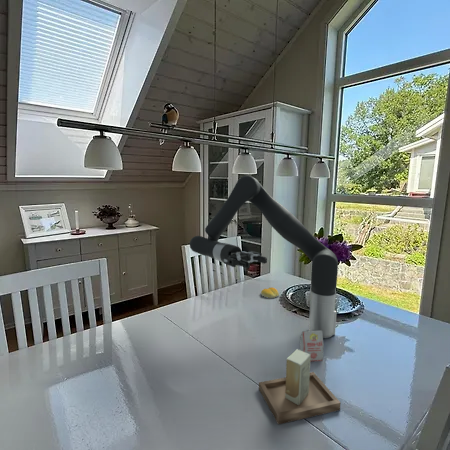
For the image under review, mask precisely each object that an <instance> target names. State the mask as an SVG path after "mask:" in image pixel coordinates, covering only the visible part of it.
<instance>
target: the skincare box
mask: <svg viewBox="0 0 450 450" xmlns="http://www.w3.org/2000/svg"><path fill="white" fill-rule="evenodd" d="M310 359H311V355H310V354H308V353H306V352H303V351H301V350H300V349H299V348H296V349H295V350H294V351H293V352H292V353H291V354H290V355H289V356H288V357H287V358H286V365H285V366H286V368H285V369H286V370H285V377H286V390H285V398H287V399H288V400H290V401H292V402H293V403H295V404H297V405H300V403H301V402H302V401H303V400H304V399H305V397H306V396H307V395H308V393H309V378H310V373H311V362H310Z"/></svg>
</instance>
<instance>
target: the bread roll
mask: <svg viewBox="0 0 450 450" xmlns="http://www.w3.org/2000/svg"><path fill="white" fill-rule="evenodd" d="M260 293H261V294H260V295H261V296H262V297H263V296H264V297H263V298H265V297H268V298H267V299H274V298H275V297H276V298H278V297H279V296H280V293H279V291H278V290H277V288H275V287H269V288H263V289H262V290H261V292H260ZM277 296H278V297H277Z"/></svg>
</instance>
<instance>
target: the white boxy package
mask: <svg viewBox="0 0 450 450" xmlns="http://www.w3.org/2000/svg"><path fill="white" fill-rule="evenodd" d="M299 350H301V351H303V352H306V353H308V354H310V355H311V359H310V363H311V362H323V361H324V360H323V359H324V358H323V357H324V338H323V334H322V331H309V330H303V331H302V332H301V336H300V340H299Z"/></svg>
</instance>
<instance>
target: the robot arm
mask: <svg viewBox="0 0 450 450" xmlns="http://www.w3.org/2000/svg"><path fill="white" fill-rule="evenodd" d="M246 202H249V203H251V204H252V205H253V206H254V207H256V209H258V210H259V211H260V213H261V214H262V215H263V217H264V218H265V220H266V221H267V222H268V223H269V225H270V226H271V227H272V228H273V229H274V230H275V232H277V233H278V234H279V235H280V237H282V238H283V239H284V240H286V241H287V242H288V243H290V244H292V245H294V246H295V247H297V248H298V249H299V250H301V251H302V253H304V254H305V255H306V256H307V257H308V258H309V260H310V261H311V276H310V300H309V301H310V302H309V317H308V331H322V334H323V339H329V338H331V337H332V336H334V335H336V325H337V311H336V310H335V308H336V295H337V284H338V283H337V281H338V271H339V267H338V266H339V263H338V262H339V261H338V258H337V255H336V254H335V253H334V252H333V251H332V250H331V249H329V248H328V247H327V246H325V245H324V244H323V243H322V242H321V241H319V240H318V239H317V238H316V237H315V236H314V235H313V234H312V233H311V231H310V230H309V229H308V228H306V226H305V225H304V224H303V223H302V222H301V221H300V220H299V219H298V218H297V217H296V216H295V215H294V214H293V213H292V212H291V211H290V210H288V209H287V208H286V207H285V206H284V205H282V204H281V203H280V202H278V201H277V200H276V199H274V198H273V197H272V196H271V195H270V193H268V192H267V190H266V189H265V188H264V187H263V185H262V184H261V183H260V182H259V180H258V179H257V178H255V177H253V176H251V175H243V176H241V177H240V178H239V179H238V180H237V182H236V183H235V185H234V187H233V188H232V190H231V193H230V194H229V195H228V197H227V199H226V201H225V202H224V203H223V205H222V206H221V208H220V209H219V210H218V211H217V213H216V214H215V215H214V216H213V217H212V219H211V220H210V221H209V223H208V224H207V225H206V227H205V228H204V231H205V233H206V235H208V236H207V238H206V237H204V236H202V235H194V236H193V237H191V239H190V241H189V247H190V250H191V251H192V252H194V253H197V254H199V255H201V256H205V257H210V259H214V260H217V261H219V262H221V263H223V264H225V265H226V266H230V267H233V268H235V267H236V266H237V267H243V268H245V269H250V268H251V267H250V266H251V263H253V262H256V263H257V262H258V263H260V264H261V263H262V264H267V262H268V259H267V257H266V256H262V255H263V254H262V253H261V252H257V251H254V250H249V251H248V252H247V251H243V250H242V249H241V247H239V246H238V245H235V244H234V245H233V244H230V243H226V242H220V241H219V239H220V237H221V236H222V235H223V233H225V231H226V229H228V227H229V225H230V224H231V222H232V221H233V219H234V217H235V215H236V214H237V212H238V211H239V210H240V209H241V208H242V206H243V205H245V203H246Z"/></svg>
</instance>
